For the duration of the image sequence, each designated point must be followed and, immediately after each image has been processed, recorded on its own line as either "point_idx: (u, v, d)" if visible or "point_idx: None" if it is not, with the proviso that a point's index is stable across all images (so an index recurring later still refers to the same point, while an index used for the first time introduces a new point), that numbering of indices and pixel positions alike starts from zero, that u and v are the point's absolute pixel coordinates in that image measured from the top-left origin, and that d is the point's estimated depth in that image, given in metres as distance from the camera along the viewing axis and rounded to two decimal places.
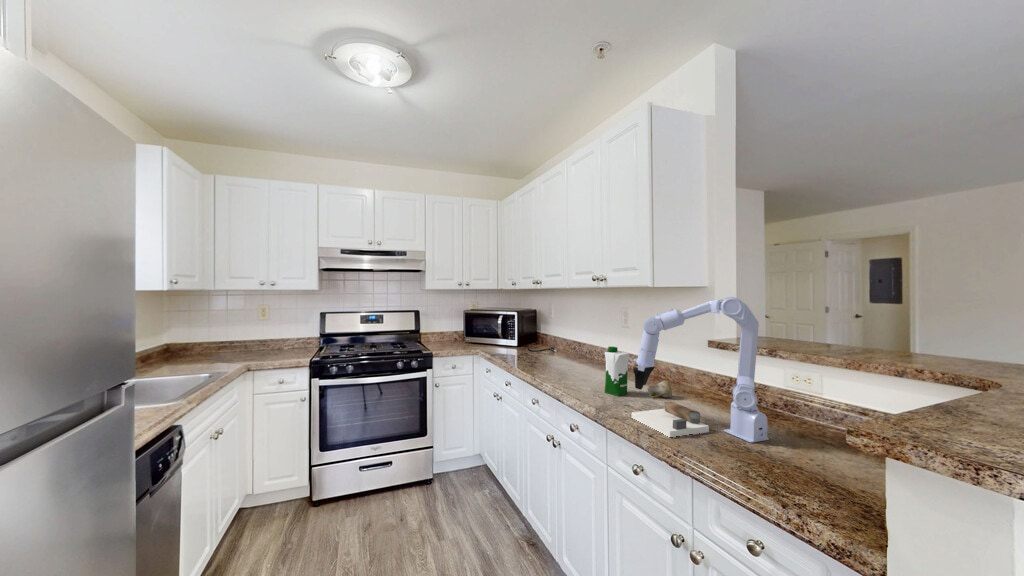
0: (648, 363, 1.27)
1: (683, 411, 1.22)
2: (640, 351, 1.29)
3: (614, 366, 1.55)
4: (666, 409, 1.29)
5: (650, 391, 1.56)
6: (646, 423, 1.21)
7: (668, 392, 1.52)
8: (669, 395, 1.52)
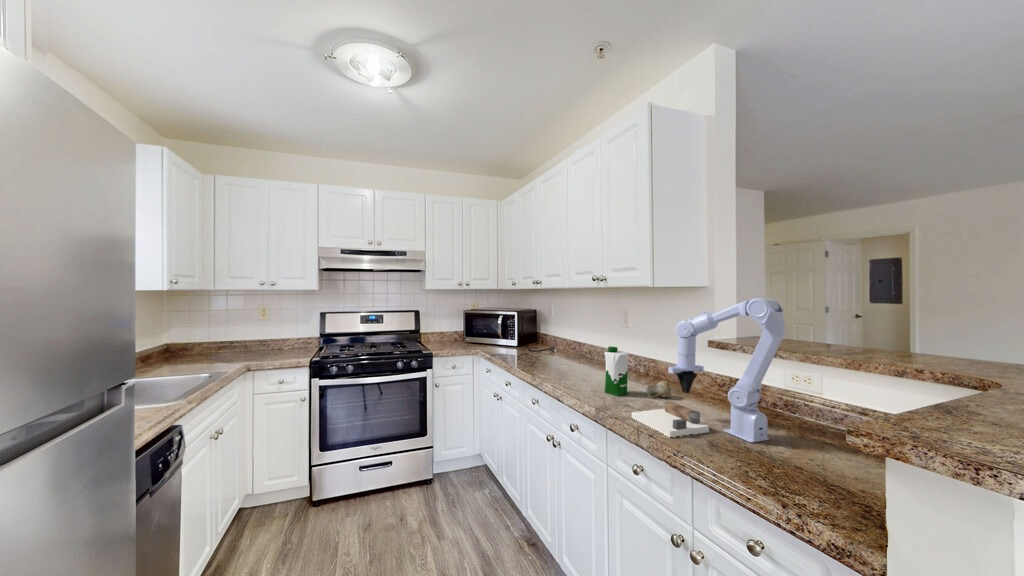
0: (684, 367, 1.28)
1: (683, 411, 1.22)
2: (678, 355, 1.31)
3: (614, 366, 1.55)
4: (666, 409, 1.29)
5: (649, 391, 1.56)
6: (646, 423, 1.21)
7: (667, 392, 1.51)
8: (668, 395, 1.52)
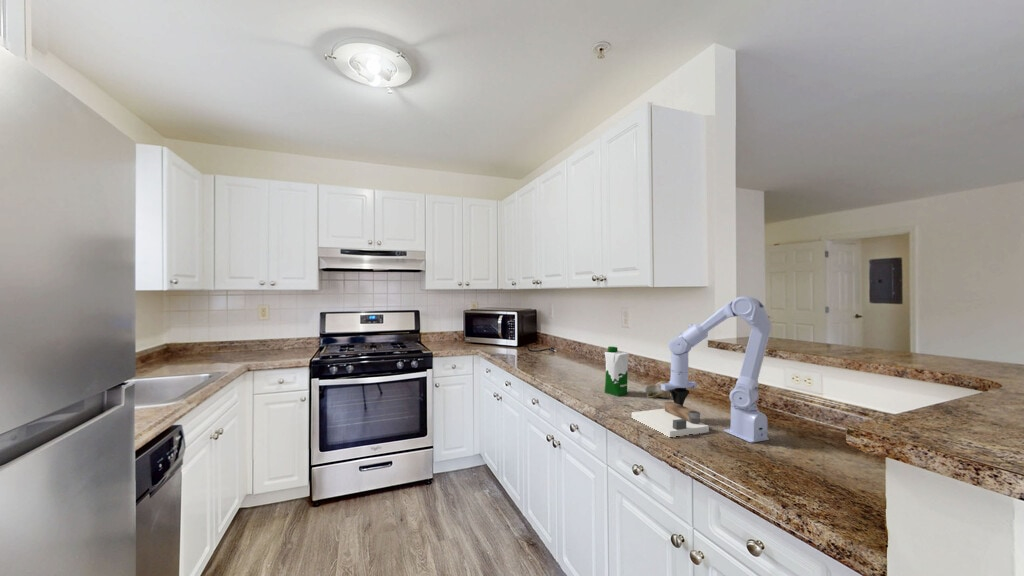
0: (676, 384, 1.27)
1: (683, 411, 1.22)
2: None
3: (614, 366, 1.55)
4: (666, 409, 1.29)
5: (648, 391, 1.56)
6: (646, 423, 1.21)
7: (665, 392, 1.51)
8: (666, 395, 1.51)
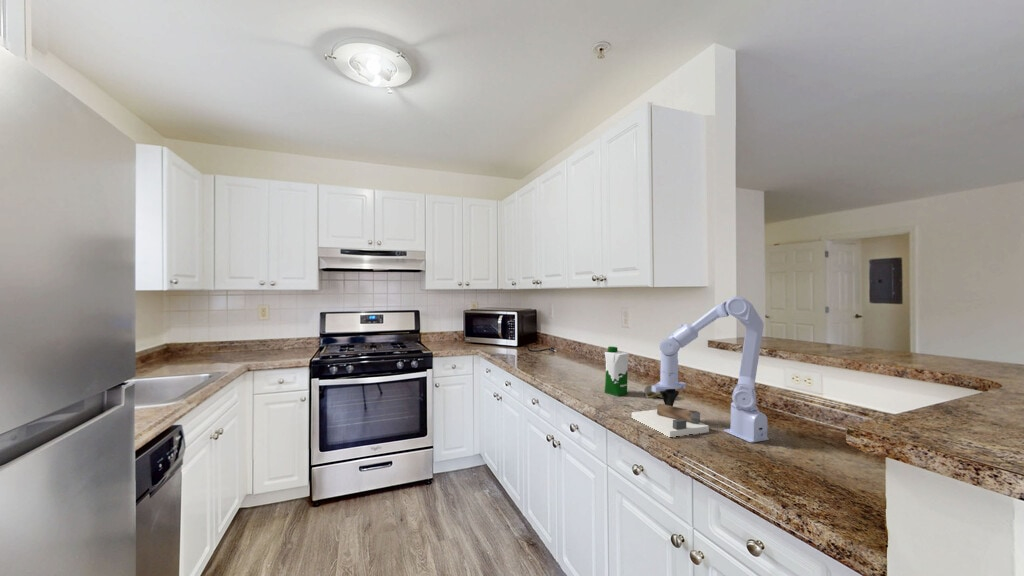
0: (667, 385, 1.25)
1: (683, 413, 1.20)
2: (660, 373, 1.29)
3: (614, 366, 1.55)
4: (659, 412, 1.25)
5: (647, 391, 1.56)
6: (646, 423, 1.21)
7: None
8: None
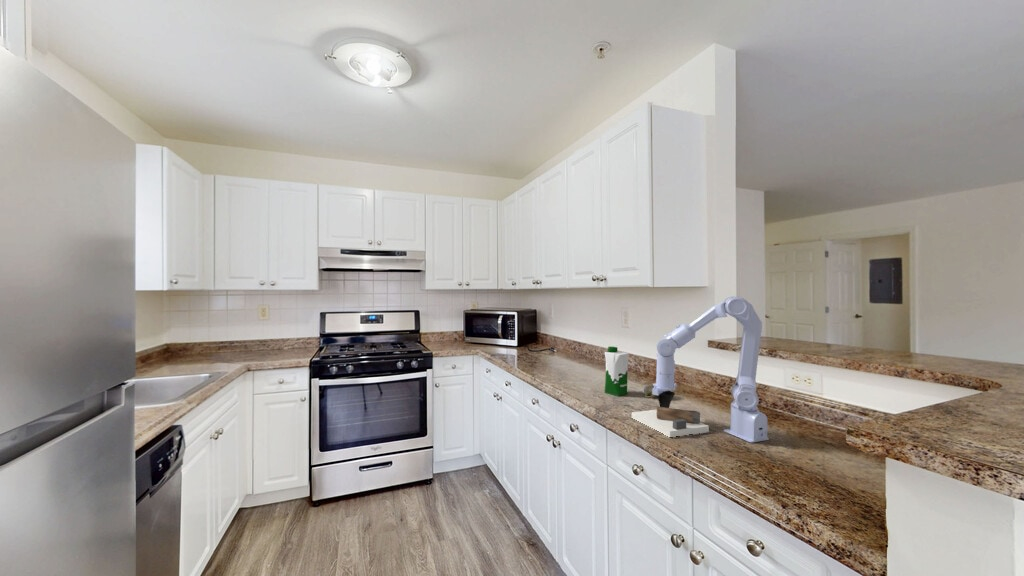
0: (665, 387, 1.22)
1: (685, 414, 1.19)
2: (656, 375, 1.25)
3: (614, 366, 1.55)
4: (659, 416, 1.21)
5: (646, 391, 1.56)
6: (646, 423, 1.21)
7: None
8: None
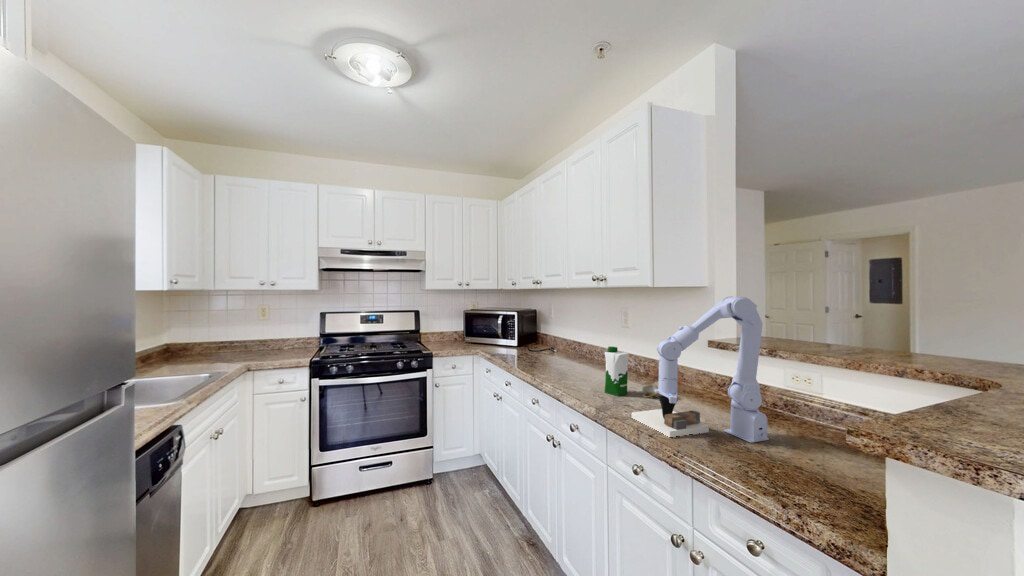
0: (674, 392, 1.16)
1: (691, 416, 1.17)
2: (662, 380, 1.17)
3: (614, 366, 1.55)
4: None
5: (644, 391, 1.56)
6: (646, 423, 1.21)
7: None
8: None
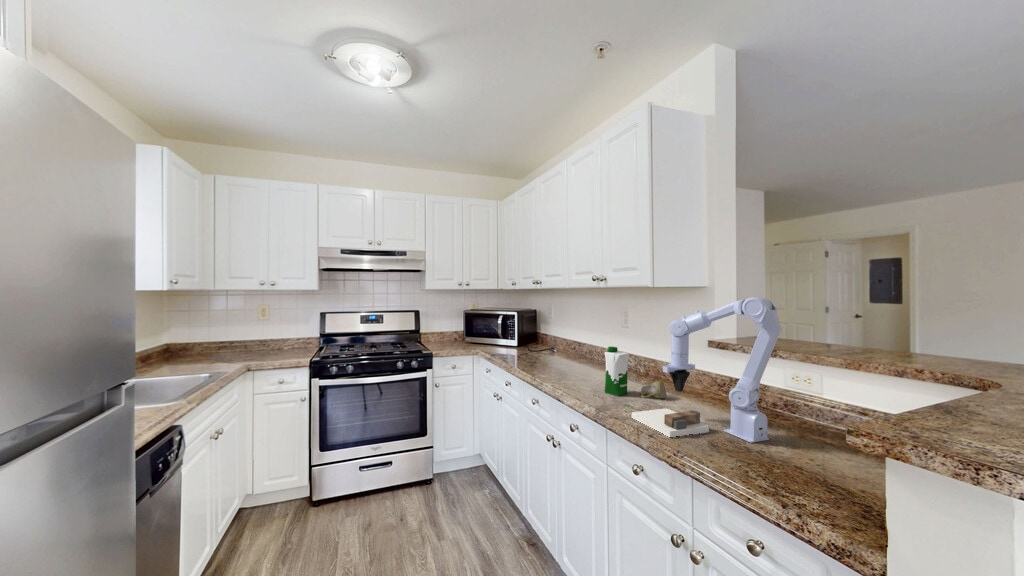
0: (677, 365, 1.28)
1: (691, 416, 1.17)
2: (671, 354, 1.31)
3: (614, 366, 1.55)
4: None
5: (643, 391, 1.56)
6: (646, 423, 1.21)
7: (659, 393, 1.50)
8: (660, 396, 1.51)
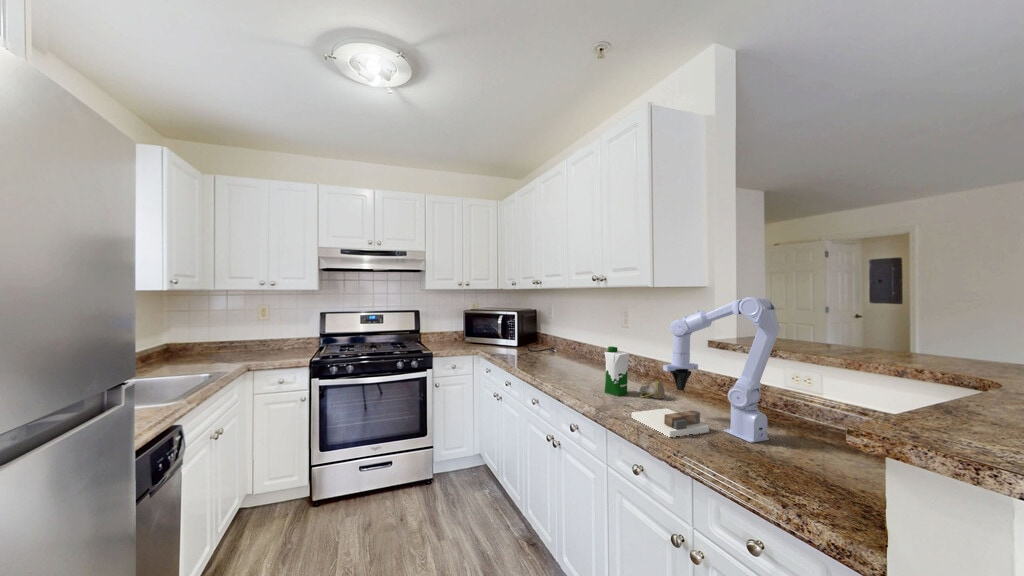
0: (678, 365, 1.30)
1: (691, 416, 1.17)
2: None
3: (614, 366, 1.55)
4: None
5: (641, 391, 1.56)
6: (646, 423, 1.21)
7: (657, 393, 1.50)
8: (658, 396, 1.50)
